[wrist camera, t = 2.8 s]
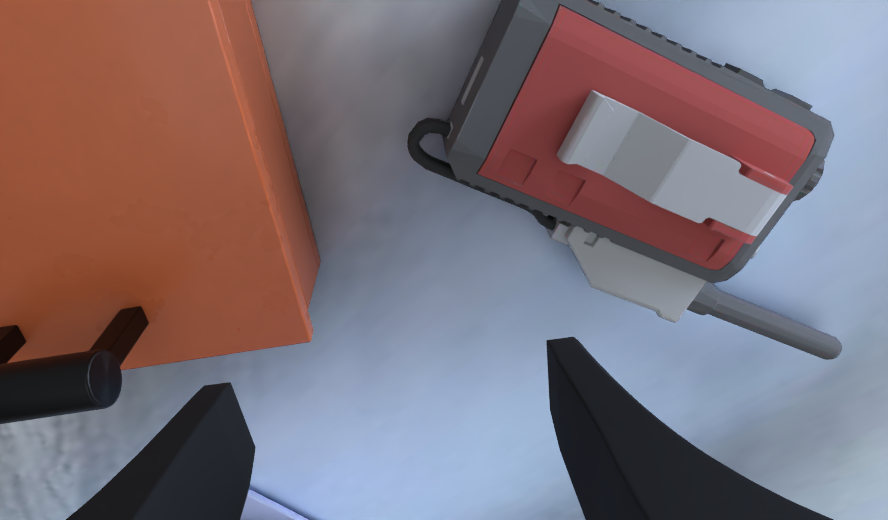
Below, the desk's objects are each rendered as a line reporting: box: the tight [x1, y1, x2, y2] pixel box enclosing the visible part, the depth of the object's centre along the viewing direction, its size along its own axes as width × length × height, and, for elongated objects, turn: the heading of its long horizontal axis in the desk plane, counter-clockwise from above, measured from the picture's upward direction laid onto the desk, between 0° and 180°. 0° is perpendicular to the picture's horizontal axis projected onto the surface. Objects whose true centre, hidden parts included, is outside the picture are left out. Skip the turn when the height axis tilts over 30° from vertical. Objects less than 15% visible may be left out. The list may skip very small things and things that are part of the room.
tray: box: [217, 0, 320, 309], centre depth 19 cm, size 11×14×4 cm
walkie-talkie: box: [408, 0, 842, 360], centre depth 21 cm, size 9×4×20 cm
